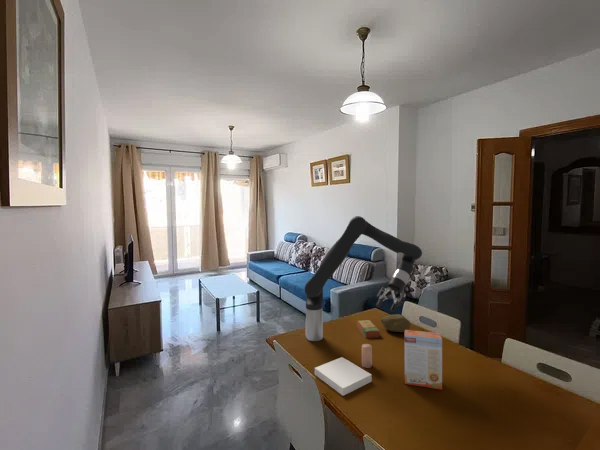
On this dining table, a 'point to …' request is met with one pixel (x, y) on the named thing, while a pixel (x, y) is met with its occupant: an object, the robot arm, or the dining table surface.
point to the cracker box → (423, 359)
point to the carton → (368, 329)
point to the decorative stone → (396, 323)
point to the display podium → (343, 375)
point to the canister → (366, 355)
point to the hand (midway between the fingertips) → (384, 309)
